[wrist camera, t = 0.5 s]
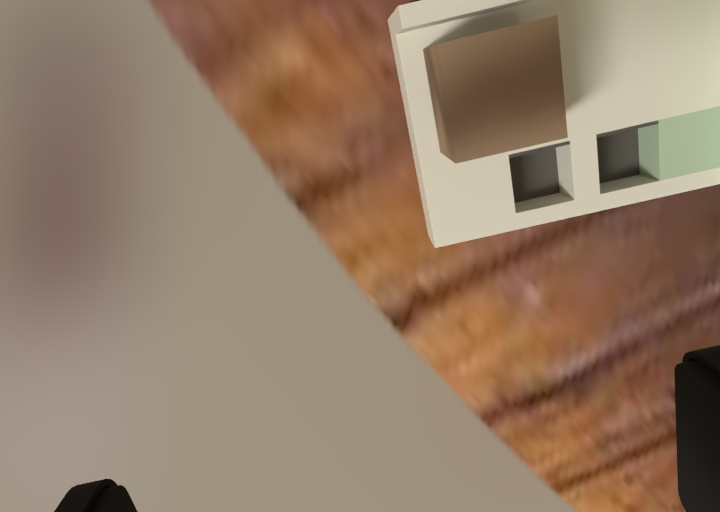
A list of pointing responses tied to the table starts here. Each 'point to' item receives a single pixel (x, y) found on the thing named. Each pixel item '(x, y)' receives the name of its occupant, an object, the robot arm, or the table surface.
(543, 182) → the trap box
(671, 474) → the table surface
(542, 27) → the block
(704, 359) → the robot arm
